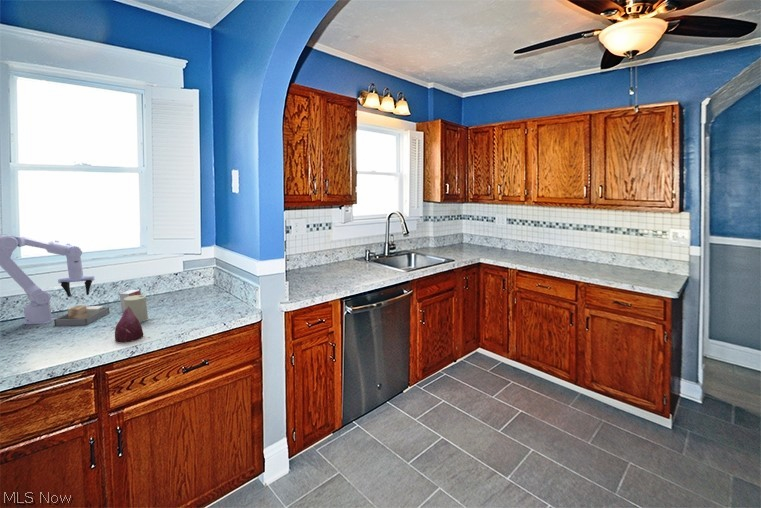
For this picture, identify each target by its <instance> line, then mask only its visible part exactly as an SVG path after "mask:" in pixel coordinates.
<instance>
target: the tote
mask: <svg viewBox="0 0 761 508" xmlns="http://www.w3.org/2000/svg"><path fill="white" fill-rule="evenodd" d="M103 307H104V308H103V310H101V311H99V312H98V313H96V314H94V315H92V316H90V317H88V318H86V319H69V316H68V313H65V314H64V315H61V316H60V317H56V319H54V320H53V321H54V323H53V324H54V327H67V326H69V327H70V326H71V327H73V326H88V325H90V324H92V323H94V322H96V321H97V320H99V319H101V318H102V317H105V316H107V315H108V314H110V307H109V306H103Z"/></svg>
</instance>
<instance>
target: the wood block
mask: <svg viewBox="0 0 761 508" xmlns="http://www.w3.org/2000/svg"><path fill="white" fill-rule="evenodd" d="M86 306H87V305H75V306H72V307H70V308H68V309H67V314H68V316H69V319H86V318H88V317H87V309H86Z"/></svg>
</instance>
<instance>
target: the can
mask: <svg viewBox="0 0 761 508" xmlns="http://www.w3.org/2000/svg"><path fill="white" fill-rule="evenodd" d="M124 303H125V309H126V308H127V307H128V306H129V308H131V310H132V312H133V313H134V315H135V316H136V317H137V319H138V320H139V322H140V323H143V322H142V321H144V322H146V321H148V320H149V316H148V307H147V296H146V295H144V294H141V295H134V296H129V297H126V298H124ZM147 319H148V320H147ZM145 320H146V321H145Z"/></svg>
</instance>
